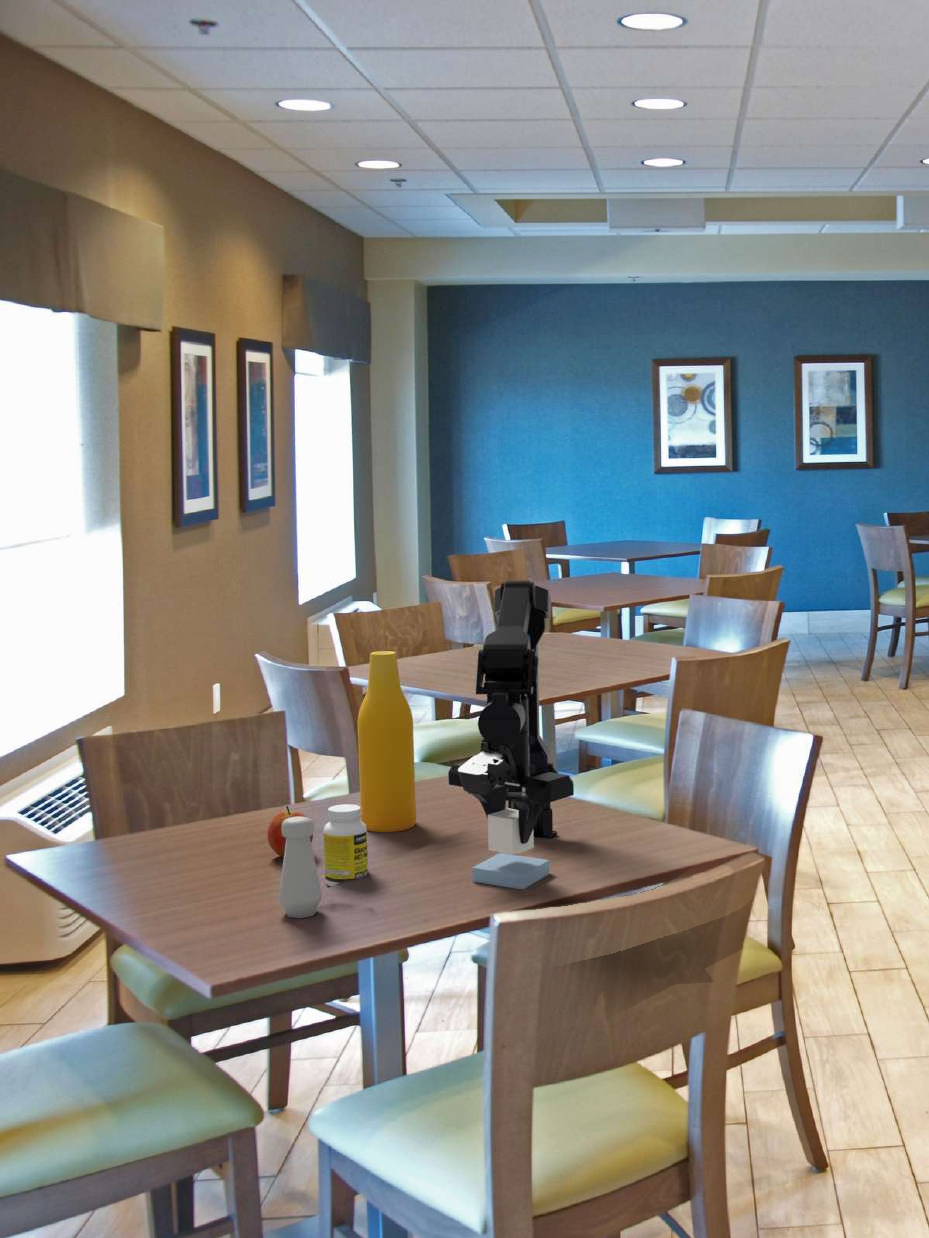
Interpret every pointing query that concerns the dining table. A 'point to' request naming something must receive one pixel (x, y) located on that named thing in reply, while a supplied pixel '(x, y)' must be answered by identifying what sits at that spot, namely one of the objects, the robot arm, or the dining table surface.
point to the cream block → (506, 833)
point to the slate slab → (510, 871)
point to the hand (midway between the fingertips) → (510, 840)
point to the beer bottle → (386, 750)
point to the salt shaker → (299, 870)
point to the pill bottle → (345, 845)
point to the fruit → (280, 831)
